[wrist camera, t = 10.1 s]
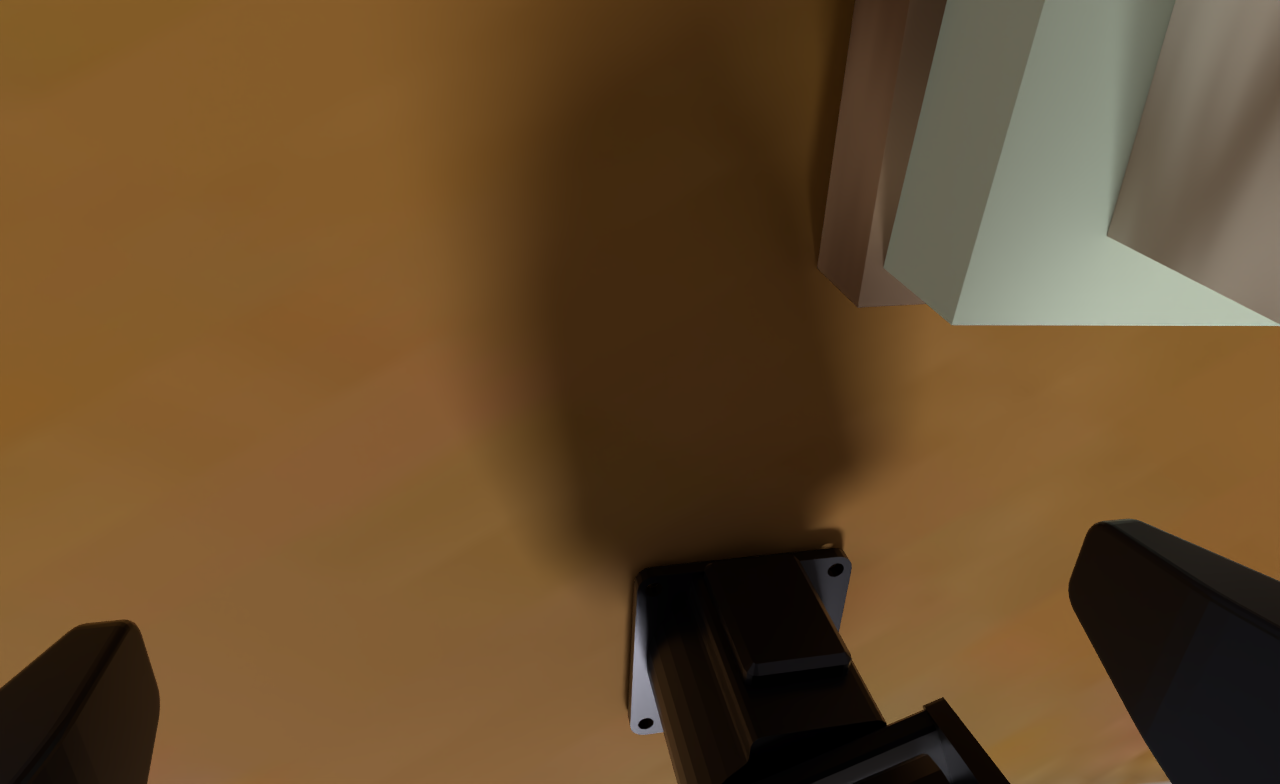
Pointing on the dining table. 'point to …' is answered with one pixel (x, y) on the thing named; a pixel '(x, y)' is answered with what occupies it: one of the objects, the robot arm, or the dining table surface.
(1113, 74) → the sage slab
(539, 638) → the dining table surface
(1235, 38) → the cream cube
